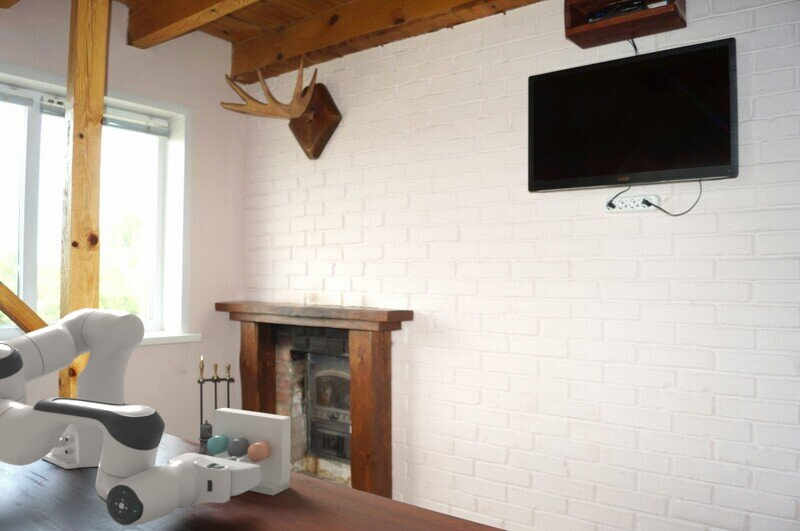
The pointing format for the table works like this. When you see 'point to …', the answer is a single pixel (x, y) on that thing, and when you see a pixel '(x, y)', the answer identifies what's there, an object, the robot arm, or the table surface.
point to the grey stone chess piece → (205, 438)
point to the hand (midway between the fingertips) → (240, 460)
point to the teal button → (217, 444)
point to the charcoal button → (238, 447)
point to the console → (257, 430)
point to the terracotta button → (259, 451)
